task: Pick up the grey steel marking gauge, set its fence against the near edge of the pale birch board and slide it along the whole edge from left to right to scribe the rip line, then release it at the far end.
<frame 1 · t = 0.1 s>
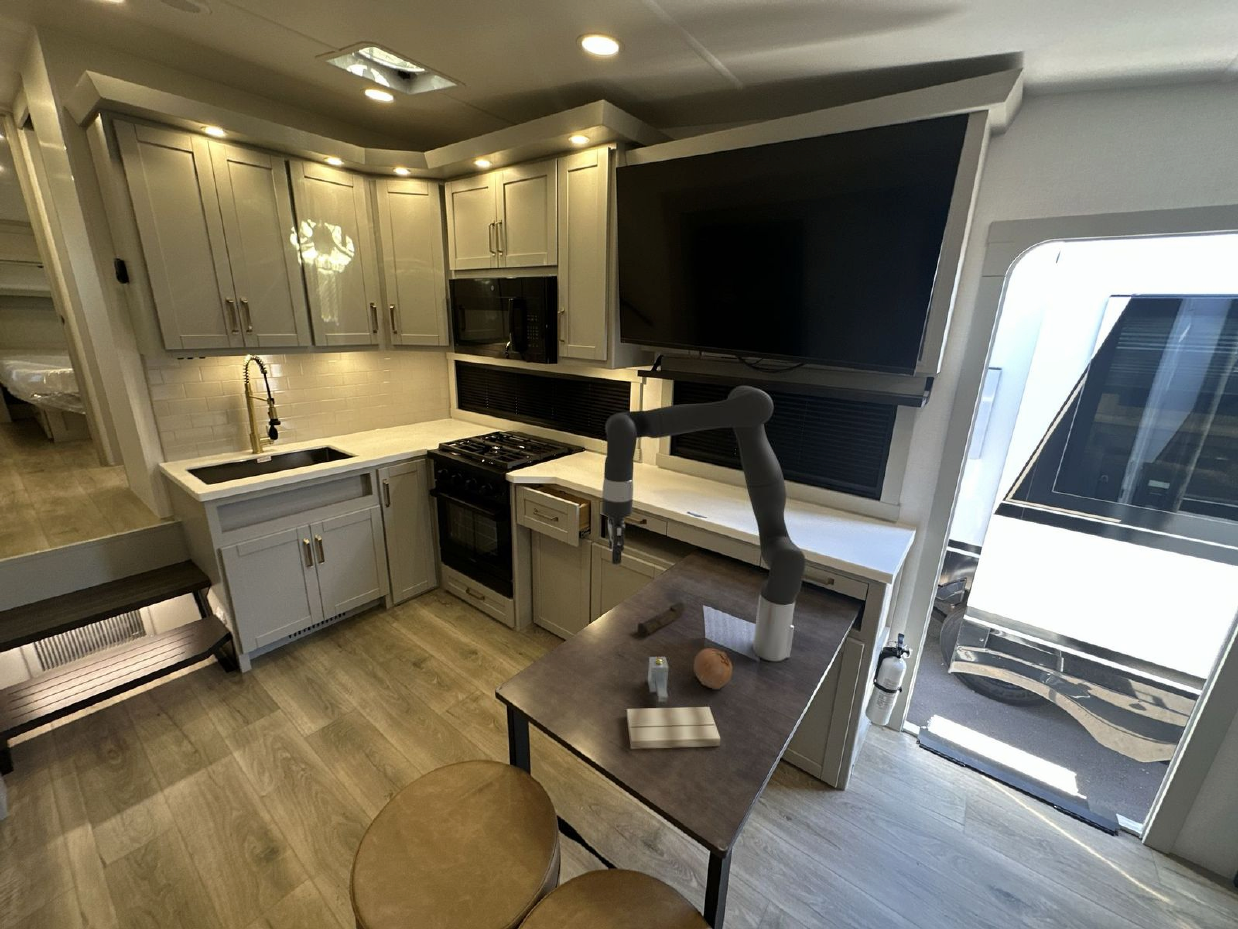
hand: (614, 555, 125), 29 cm above the table, fingers open, 8 cm apart
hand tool: (662, 624, 148), on the table
board: (671, 730, 108), on the table
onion: (710, 683, 124), on the table
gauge: (656, 686, 121), on the table
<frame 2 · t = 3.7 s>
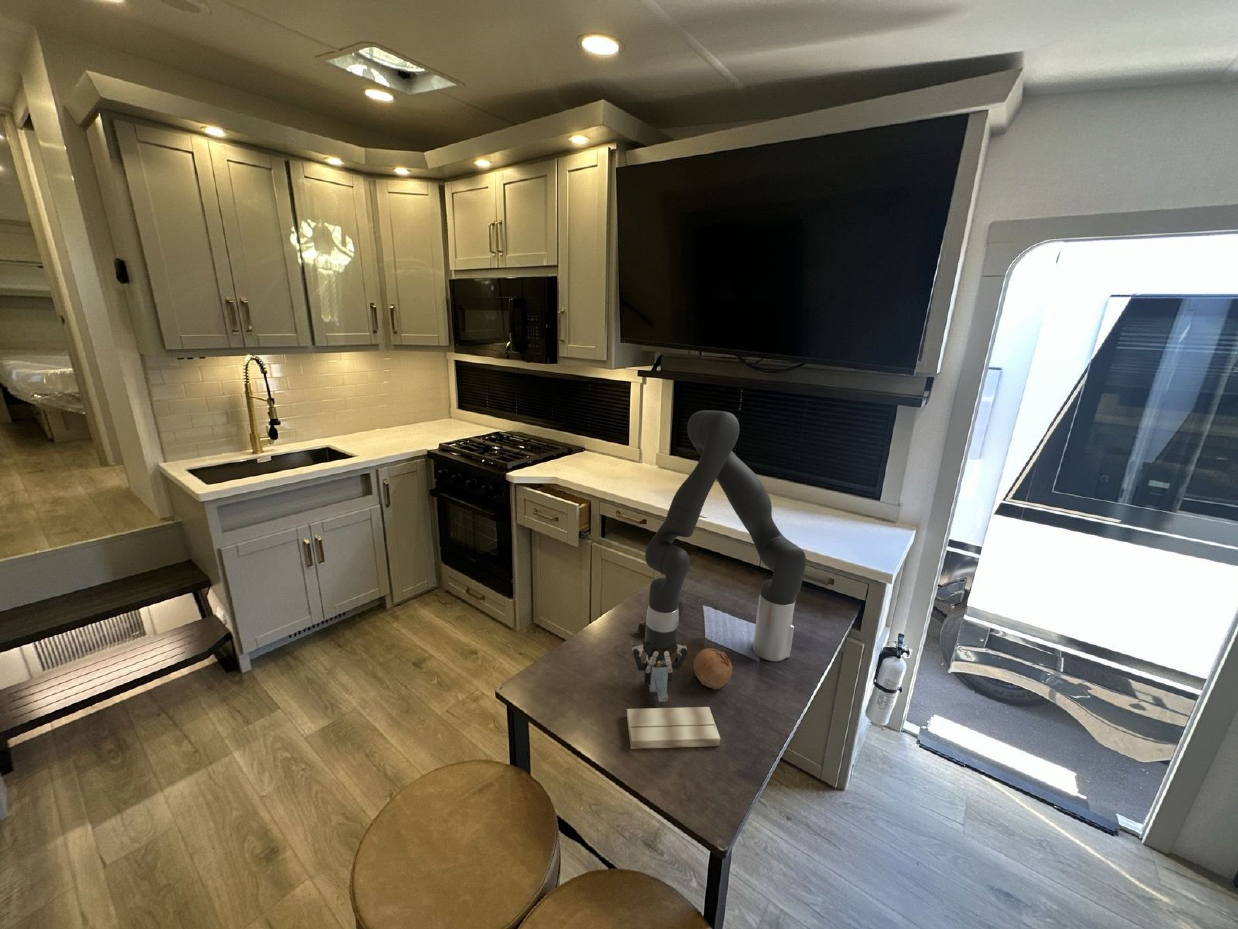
hand: (657, 682, 121), 1 cm above the table, fingers closed on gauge, 4 cm apart
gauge: (656, 686, 121), on the table, touching gripper
everything else where it was.
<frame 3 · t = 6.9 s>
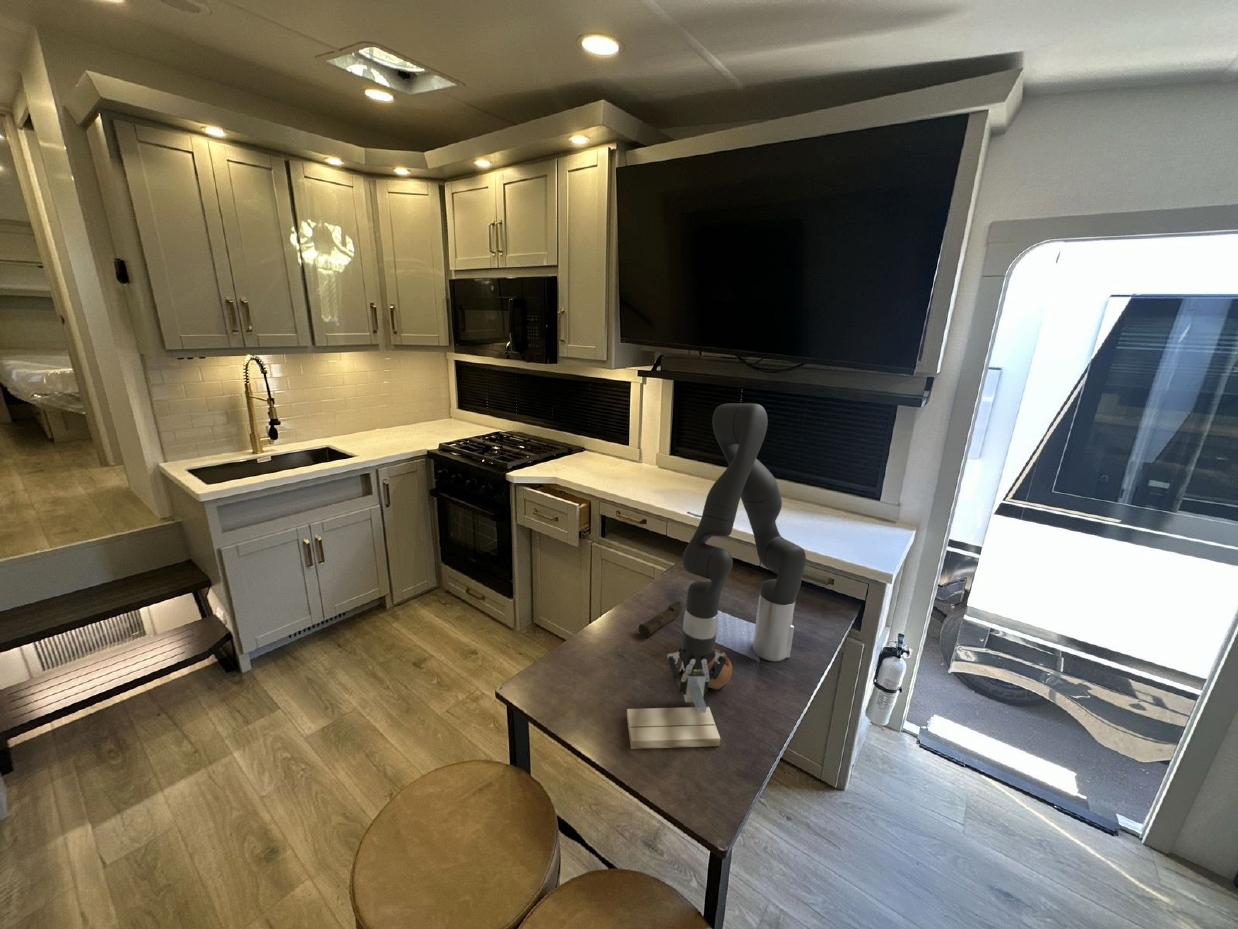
hand: (692, 692, 115), 4 cm above the table, fingers closed on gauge, 4 cm apart
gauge: (692, 696, 115), point 3 cm above the table, touching gripper
everything else where it was.
when the fingers open (1 cm above the table, at t = 10.1 s): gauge stays where it is, on the table.
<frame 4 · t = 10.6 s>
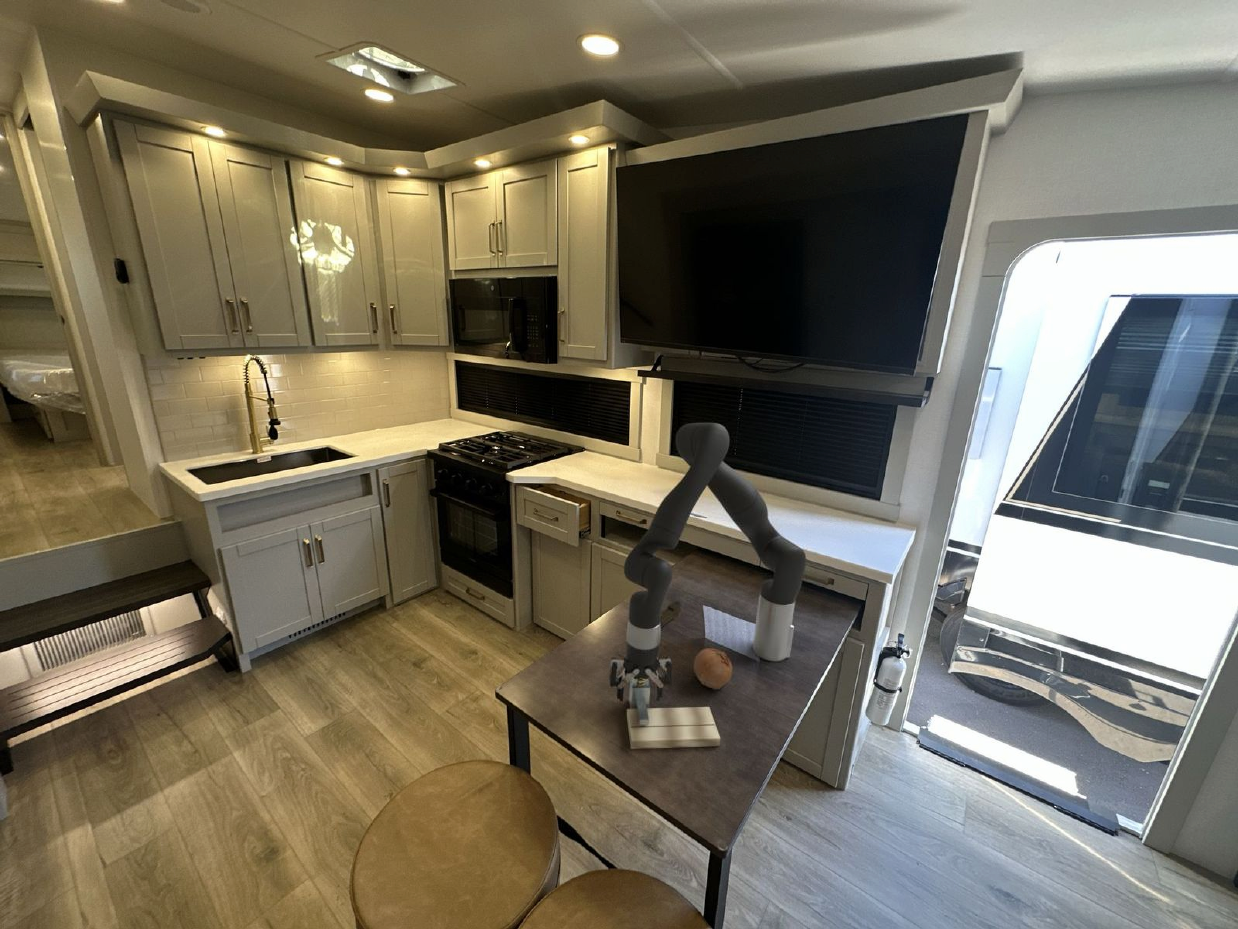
hand: (638, 698, 114), 2 cm above the table, fingers open, 8 cm apart
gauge: (638, 707, 114), on the table
everything else where it was.
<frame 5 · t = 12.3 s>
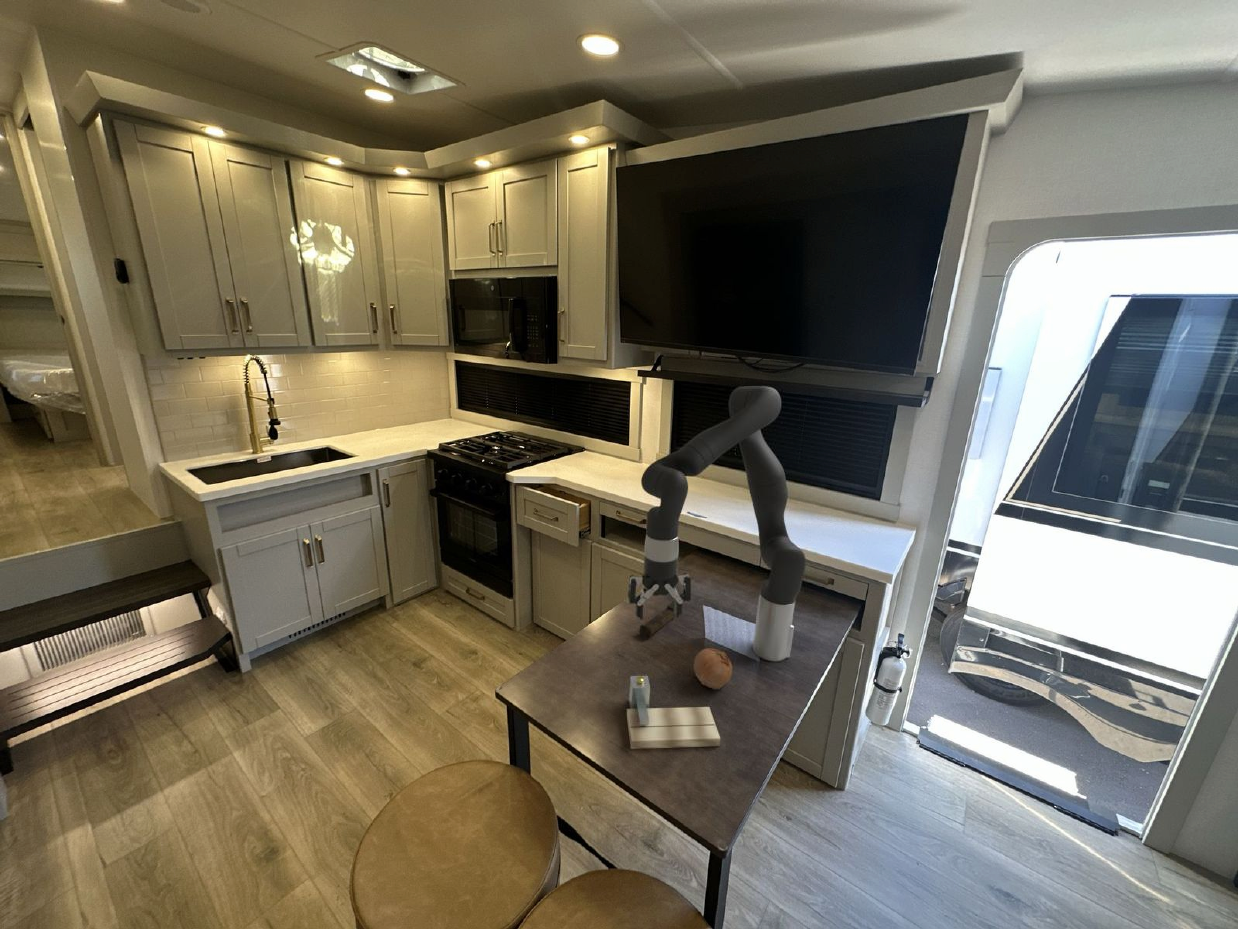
hand: (658, 616, 114), 21 cm above the table, fingers open, 8 cm apart
nothing on the table moved.
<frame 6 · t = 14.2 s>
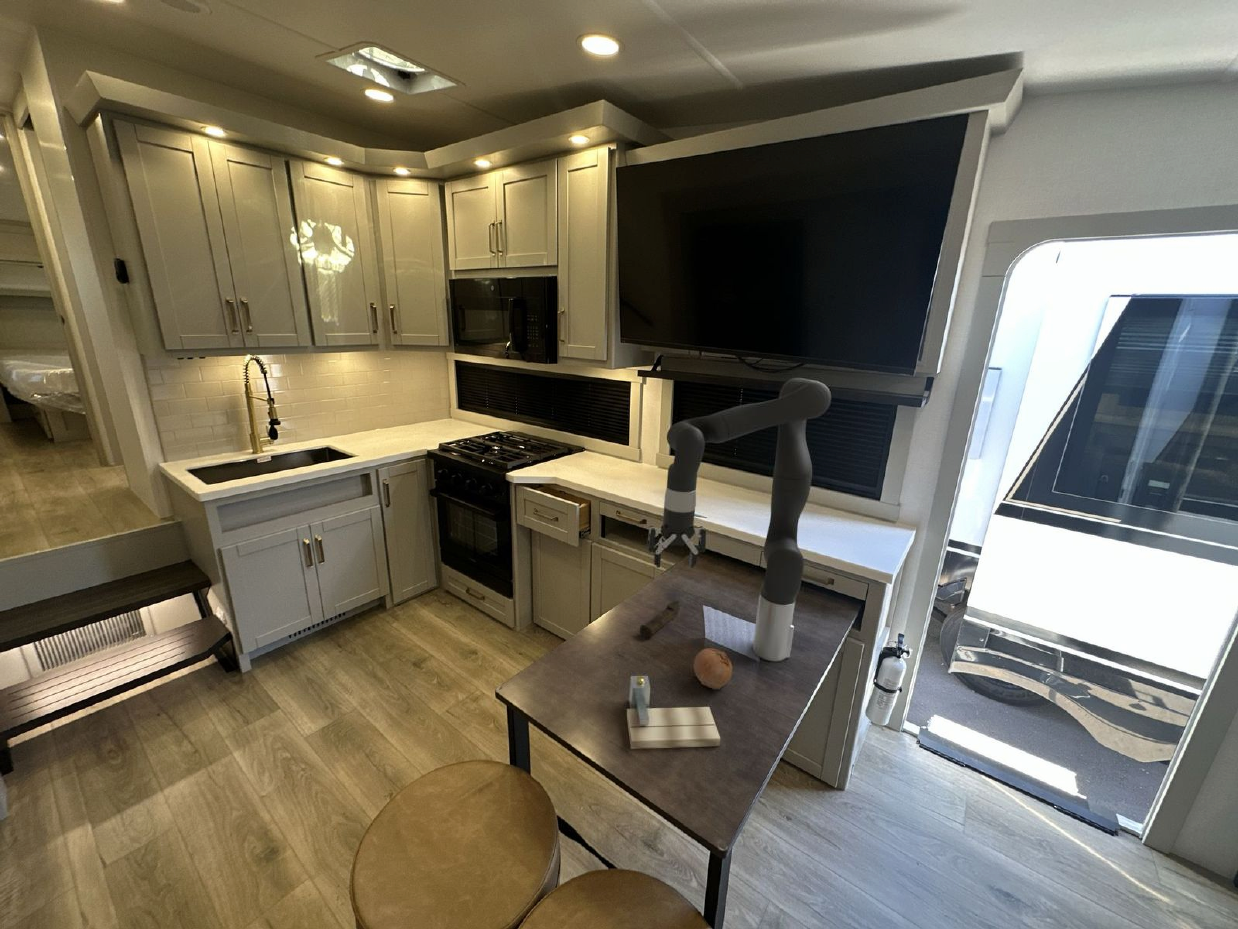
hand: (674, 566, 123), 28 cm above the table, fingers open, 8 cm apart
nothing on the table moved.
at the end: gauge 0.6 cm from the target spot, on the table; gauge tilted 0°; the gripper is holding nothing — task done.
